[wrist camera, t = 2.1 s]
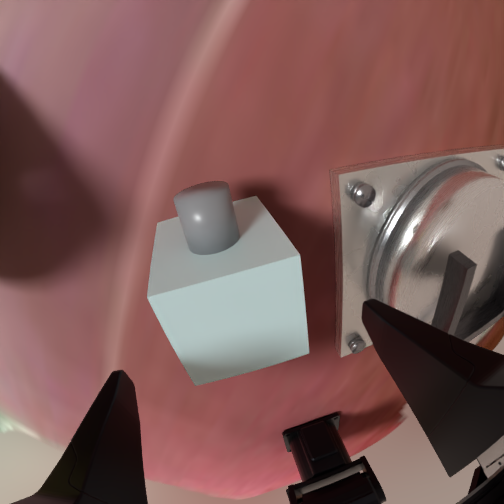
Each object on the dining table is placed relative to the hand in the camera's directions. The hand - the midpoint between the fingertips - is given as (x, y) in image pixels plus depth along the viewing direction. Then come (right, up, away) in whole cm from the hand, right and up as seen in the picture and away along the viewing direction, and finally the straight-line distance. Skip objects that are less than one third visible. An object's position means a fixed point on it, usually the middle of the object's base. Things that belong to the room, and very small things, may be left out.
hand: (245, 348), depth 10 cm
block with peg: (-2, +4, +5) cm, 7 cm away
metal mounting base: (+14, +4, +9) cm, 17 cm away
